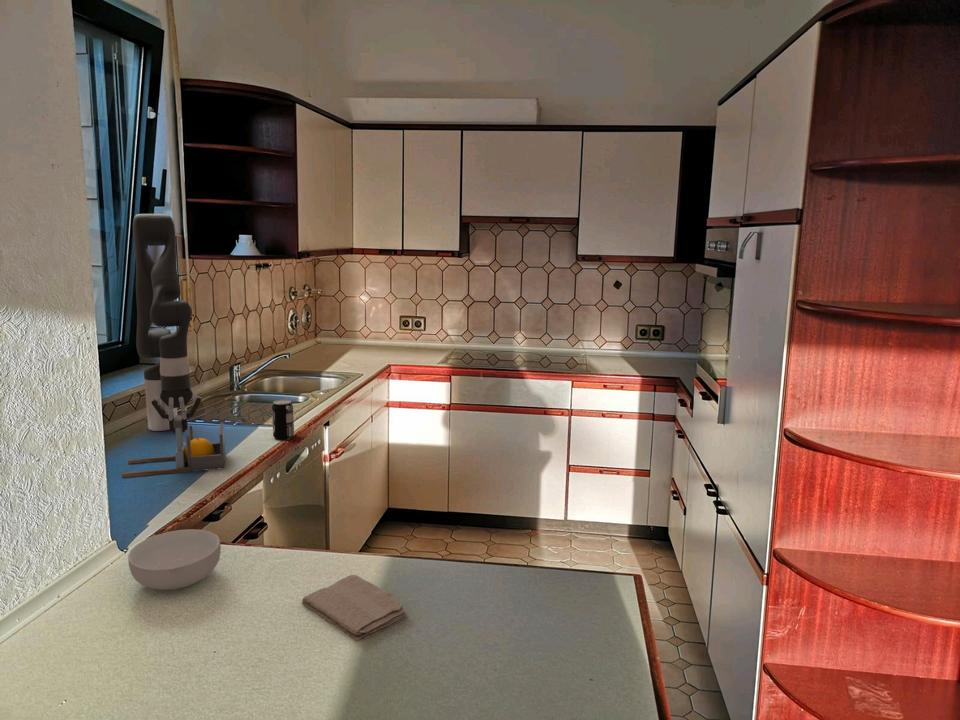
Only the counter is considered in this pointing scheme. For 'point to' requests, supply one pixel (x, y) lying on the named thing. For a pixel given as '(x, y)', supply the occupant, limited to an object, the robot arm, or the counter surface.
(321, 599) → the washcloth
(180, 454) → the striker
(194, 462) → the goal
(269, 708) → the counter surface
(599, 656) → the counter surface
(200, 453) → the orange
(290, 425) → the beverage can
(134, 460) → the rails
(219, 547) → the cereal bowl
